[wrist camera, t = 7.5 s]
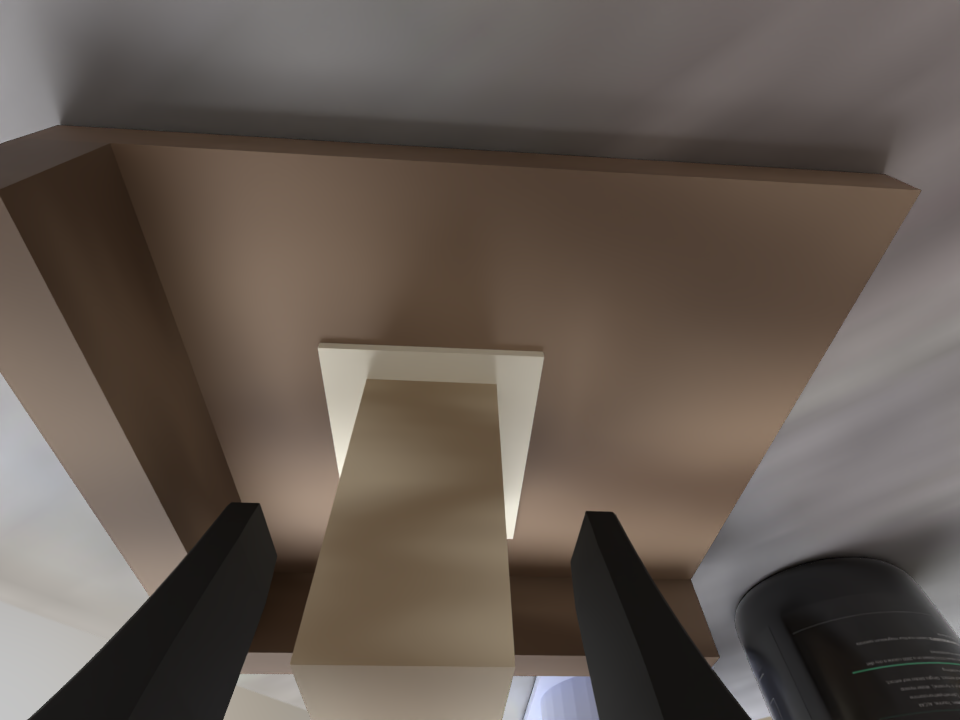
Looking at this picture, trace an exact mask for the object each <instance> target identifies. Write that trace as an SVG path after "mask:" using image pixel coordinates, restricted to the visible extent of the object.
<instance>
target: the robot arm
mask: <svg viewBox="0 0 960 720" xmlns="http://www.w3.org/2000/svg"><path fill="white" fill-rule="evenodd" d="M276 560H277V553H276V550H275V547H274V544H273V541H272V538H271V535H270V532H269V529H268V526H267V523H266V520H265V517H264V514H263V511H262V508H261V505H260V503H241V502H231V503H230V504H229V505H227V507H226V508H225V509H224V510H223V511H222V513H221V514H220V515H219V516H218V518H217V519H216V520H215V521H214V522H213V524H212V525H211V526H210V527H209V529H208V530H207V531H206V532H205V533H204V535H203V536H202V537H201V538H200V540H199V541H198V542H197V543H196V544H195V546H194V547H193V548H192V549H191V550H190V551H189V553H188V554H187V555H186V556H185V557H184V559H183V560H182V561H181V562H180V563H179V564H178V566H177V567H176V568H175V569H174V570H173V571H172V572H171V574H170V575H169V576H168V577H167V578H166V579H165V580H164V582H163V583H162V584H161V585H160V586H159V587H158V588H157V589H156V591H155V592H154V593H153V594H152V595H151V596H150V597H149V599H148V600H147V601H146V602H145V603H144V604H143V605H142V606H141V607H140V608H139V610H138V611H137V612H136V613H135V614H134V615H133V616H132V617H131V618H130V619H129V620H128V621H127V622H126V623H125V624H124V625H123V626H122V628H121V629H120V630H119V631H118V632H117V633H116V634H115V635H114V636H113V637H112V638H111V639H110V640H109V641H108V642H107V643H106V644H105V646H104V647H103V648H102V649H101V650H100V651H99V652H98V653H97V654H96V655H95V656H94V657H93V658H92V659H91V660H90V661H89V662H88V663H87V664H86V665H85V666H84V667H83V668H82V669H81V670H80V671H79V672H78V673H77V674H76V675H75V676H74V677H73V678H72V679H70V680H69V681H68V682H67V683H66V684H65V685H64V686H63V687H62V688H61V689H60V690H59V691H58V692H57V693H56V694H55V695H54V696H53V697H52V698H51V699H49V701H47V702H46V703H45V704H44V705H43V706H42V707H41V708H40V709H39V710H38V711H37V712H36V713H34V714H33V715H32V716H31V717H30V718H29V719H28V720H223V719H224V716H225V713H226V710H227V707H228V705H229V702H230V699H231V697H232V694H233V691H234V689H235V686H236V683H237V681H238V678H239V675H240V672H241V670H242V667H243V664H244V662H245V659H246V656H247V654H248V651H249V648H250V645H251V643H252V640H253V637H254V635H255V632H256V629H257V626H258V624H259V621H260V618H261V615H262V612H263V610H264V607H265V604H266V600H267V596H268V592H269V589H270V585H271V581H272V577H273V572H274V568H275V564H276ZM570 563H571V573H572V583H573V592H574V600H575V609H576V614H577V619H578V623H579V628H580V633H581V637H582V642H583V647H584V652H585V656H586V661H587V665H588V670H589V675H590V677H587V676H537V677H536V681H535V684H534V687H533V690H532V694H531V697H530V700H529V703H528V706H527V710H526V713H525V716H524V719H523V720H752V719H751V718H750V717H749V716H748V715H747V713H746V712H745V711H744V709H743V708H742V707H741V706H740V704H739V703H738V702H737V700H736V699H735V698H734V697H733V695H732V694H731V693H730V692H729V690H728V689H727V688H726V686H725V685H724V684H723V682H722V681H721V680H720V678H719V677H718V676H717V674H716V673H715V672H714V666H712V667H711V666H710V665H709V663H708V662H707V661H706V659H705V658H704V656H703V655H702V653H701V652H700V651H699V649H698V648H697V646H696V645H695V644H694V642H693V641H692V639H691V638H690V636H689V635H688V633H687V632H686V630H685V629H684V627H683V626H682V625H681V623H680V622H679V620H678V619H677V617H676V615H675V614H674V612H673V611H672V609H671V608H670V606H669V605H668V603H667V601H666V600H665V598H664V597H663V595H662V594H661V592H660V590H659V589H658V587H657V586H656V584H655V582H654V581H653V579H652V578H651V576H650V574H649V573H648V571H647V569H646V567H645V566H644V564H643V562H642V561H641V559H640V557H639V556H638V554H637V552H636V550H635V549H634V547H633V545H632V543H631V542H630V540H629V538H628V536H627V534H626V532H625V531H624V529H623V527H622V525H621V523H620V521H619V519H618V518H617V516H616V514H615V513H614V512H609V511H586V512H585V516H584V519H583V522H582V525H581V529H580V532H579V535H578V538H577V542H576V545H575V548H574V551H573V555H572V558H571V561H570Z"/></svg>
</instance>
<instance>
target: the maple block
mask: <svg viewBox="0 0 960 720" xmlns="http://www.w3.org/2000/svg"><path fill="white" fill-rule="evenodd" d="M290 667H291V669H292V672H293V675H294V677H295V680H296V682H297V685H298V687H299V690H300V693H301V695H302V698H303V700H304V703H305V706H306V708H307V711H308V713H309V716H310V718H311V720H502V718H503V714H504V710H505V706H506V702H507V698H508V694H509V690H510V686H511V682H512V678H513V674H514V670H515V655H514V640H513V624H512V609H511V594H510V579H509V564H508V549H507V534H506V519H505V504H504V488H503V473H502V458H501V443H500V428H499V413H498V398H497V384H481V383H457V382H432V381H407V380H383V379H366V383H365V387H364V390H363V394H362V398H361V402H360V405H359V409H358V413H357V416H356V420H355V424H354V428H353V431H352V435H351V439H350V442H349V446H348V450H347V454H346V457H345V461H344V465H343V468H342V472H341V476H340V480H339V483H338V487H337V491H336V494H335V498H334V502H333V506H332V509H331V513H330V517H329V520H328V524H327V528H326V532H325V535H324V539H323V543H322V546H321V550H320V554H319V558H318V561H317V565H316V569H315V573H314V576H313V580H312V584H311V587H310V591H309V595H308V599H307V602H306V606H305V610H304V613H303V617H302V621H301V625H300V628H299V632H298V636H297V639H296V643H295V647H294V651H293V654H292V658H291V662H290Z"/></svg>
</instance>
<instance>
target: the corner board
mask: <svg viewBox="0 0 960 720" xmlns="http://www.w3.org/2000/svg"><path fill="white" fill-rule="evenodd" d="M920 192H921V190H920V189H917V188H915V187H913V186H910V185H908V184H906V183H904V182H901V181H899V180H897V179H895V178H892V177H890V176H888V175H885V174H871V173H854V172H838V171H821V170H804V169H787V168H771V167H754V166H737V165H720V164H703V163H687V162H670V161H653V160H636V159H619V158H603V157H586V156H569V155H552V154H536V153H519V152H502V151H485V150H468V149H452V148H435V147H418V146H401V145H385V144H368V143H351V142H334V141H317V140H301V139H284V138H267V137H250V136H233V135H217V134H200V133H183V132H166V131H150V130H133V129H116V128H99V127H82V126H66V125H57V126H54V127H50V128H47V129H44V130H41V131H38V132H35V133H32V134H29V135H26V136H23V137H19V138H16V139H13V140H10V141H7V142H4V143H1V144H0V372H1V374H2V375H3V377H4V378H5V380H6V381H7V383H8V384H9V386H10V387H11V389H12V390H13V392H14V393H15V395H16V396H17V398H18V399H19V401H20V402H21V404H22V405H23V407H24V409H25V410H26V412H27V413H28V415H29V416H30V418H31V419H32V421H33V422H34V424H35V425H36V427H37V428H38V430H39V431H40V433H41V434H42V436H43V437H44V439H45V440H46V442H47V443H48V445H49V446H50V448H51V449H52V451H53V452H54V454H55V455H56V457H57V458H58V460H59V461H60V463H61V464H62V466H63V467H64V469H65V470H66V472H67V473H68V475H69V476H70V478H71V479H72V481H73V482H74V484H75V485H76V487H77V488H78V490H79V491H80V493H81V494H82V496H83V497H84V499H85V500H86V502H87V503H88V505H89V506H90V508H91V509H92V511H93V512H94V514H95V515H96V517H97V518H98V520H99V521H100V523H101V524H102V526H103V527H104V529H105V530H106V532H107V533H108V535H109V536H110V538H111V539H112V541H113V542H114V544H115V545H116V547H117V548H118V550H119V551H120V553H121V554H122V556H123V557H124V559H125V560H126V562H127V563H128V565H129V566H130V568H131V569H132V571H133V572H134V574H135V575H136V577H137V578H138V580H139V581H140V583H141V584H142V586H143V587H144V589H145V590H146V592H147V593H148V595H149V596H151V595H152V594H153V593H154V592H155V591H156V589H157V588H158V587H159V586H160V585H161V584H162V583H163V582H164V580H165V579H166V578H167V577H168V576H169V575H170V574H171V572H172V571H173V570H174V569H175V568H176V567H177V566H178V564H179V563H180V562H181V561H182V560H183V559H184V557H185V556H186V555H187V554H188V553H189V551H190V550H191V549H192V548H193V547H194V546H195V544H196V543H197V542H198V541H199V540H200V538H201V537H202V536H203V535H204V533H205V532H206V531H207V530H208V529H209V527H210V526H211V525H212V524H213V522H214V521H215V520H216V519H217V518H218V516H219V515H220V514H221V513H222V511H223V510H224V509H225V508H226V507H227V505H229V504H230V503H231V502H241V503H260V505H261V508H262V511H263V514H264V517H265V520H266V523H267V526H268V529H269V532H270V535H271V538H272V541H273V544H274V547H275V550H276V553H277V560H276V564H275V568H274V572H273V577H272V581H271V585H270V589H269V592H268V596H267V600H266V604H265V607H264V610H263V612H262V615H261V618H260V621H259V624H258V626H257V629H256V632H255V635H254V637H253V640H252V643H251V645H250V648H249V651H248V654H247V656H246V659H245V662H244V664H243V667H242V670H241V672H240V674H293V672H292V669H291V667H290V662H291V658H292V654H293V651H294V647H295V643H296V639H297V636H298V632H299V628H300V625H301V621H302V617H303V613H304V610H305V606H306V602H307V599H308V595H309V591H310V587H311V584H312V580H313V576H314V573H315V569H316V565H317V561H318V558H319V554H320V550H321V546H322V543H323V539H324V535H325V532H326V528H327V524H328V520H329V517H330V513H331V509H332V506H333V502H334V498H335V494H336V491H337V487H338V483H339V480H340V476H341V472H342V468H343V465H344V461H345V457H346V454H347V450H348V446H349V442H350V439H351V435H352V431H353V428H354V424H355V420H356V416H357V413H358V409H359V405H360V402H361V398H362V394H363V390H364V387H365V383H366V379H383V380H407V381H432V382H457V383H481V384H497V398H498V413H499V428H500V443H501V458H502V473H503V488H504V504H505V519H506V534H507V549H508V564H509V579H510V594H511V609H512V624H513V640H514V655H515V670H514V674H513V676H587V677H590V675H589V670H588V665H587V661H586V656H585V652H584V647H583V642H582V637H581V633H580V628H579V623H578V619H577V614H576V609H575V600H574V592H573V583H572V573H571V563H570V561H571V558H572V555H573V551H574V548H575V545H576V542H577V538H578V535H579V532H580V529H581V525H582V522H583V519H584V516H585V512H586V511H609V512H614V513H615V514H616V516H617V518H618V519H619V521H620V523H621V525H622V527H623V529H624V531H625V532H626V534H627V536H628V538H629V540H630V542H631V543H632V545H633V547H634V549H635V550H636V552H637V554H638V556H639V557H640V559H641V561H642V562H643V564H644V566H645V567H646V569H647V571H648V573H649V574H650V576H651V578H652V579H653V581H654V582H655V584H656V586H657V587H658V589H659V590H660V592H661V594H662V595H663V597H664V598H665V600H666V601H667V603H668V605H669V606H670V608H671V609H672V611H673V612H674V614H675V615H676V617H677V619H678V620H679V622H680V623H681V625H682V626H683V627H684V629H685V630H686V632H687V633H688V635H689V636H690V638H691V639H692V641H693V642H694V644H695V645H696V646H697V648H698V649H699V651H700V652H701V653H702V655H703V656H704V658H705V659H706V661H707V662H708V663H709V665H710V666H711V667H712V666H713V665H714V664H715V663H716V661H717V660H718V659H719V658H720V656H719V654H718V651H717V648H716V646H715V643H714V640H713V638H712V635H711V632H710V630H709V627H708V624H707V622H706V619H705V616H704V614H703V611H702V608H701V606H700V603H699V600H698V598H697V595H696V592H695V590H694V587H693V584H692V582H691V578H692V577H693V575H694V573H695V572H696V570H697V568H698V567H699V565H700V563H701V561H702V560H703V558H704V556H705V555H706V553H707V551H708V550H709V548H710V546H711V545H712V543H713V541H714V540H715V538H716V536H717V534H718V533H719V531H720V529H721V528H722V526H723V524H724V523H725V521H726V519H727V518H728V516H729V514H730V513H731V511H732V509H733V508H734V506H735V504H736V502H737V501H738V499H739V497H740V496H741V494H742V492H743V491H744V489H745V487H746V486H747V484H748V482H749V481H750V479H751V477H752V475H753V474H754V472H755V470H756V469H757V467H758V465H759V464H760V462H761V460H762V459H763V457H764V455H765V454H766V452H767V450H768V448H769V447H770V445H771V443H772V442H773V440H774V438H775V437H776V435H777V433H778V432H779V430H780V428H781V427H782V425H783V423H784V421H785V420H786V418H787V416H788V415H789V413H790V411H791V410H792V408H793V406H794V405H795V403H796V401H797V400H798V398H799V396H800V395H801V393H802V391H803V389H804V388H805V386H806V384H807V383H808V381H809V379H810V378H811V376H812V374H813V373H814V371H815V369H816V368H817V366H818V364H819V362H820V361H821V359H822V357H823V356H824V354H825V352H826V351H827V349H828V347H829V346H830V344H831V342H832V341H833V339H834V337H835V335H836V334H837V332H838V330H839V329H840V327H841V325H842V324H843V322H844V320H845V319H846V317H847V315H848V314H849V312H850V310H851V309H852V307H853V305H854V303H855V302H856V300H857V298H858V297H859V295H860V293H861V292H862V290H863V288H864V287H865V285H866V283H867V282H868V280H869V278H870V276H871V275H872V273H873V271H874V270H875V268H876V266H877V265H878V263H879V261H880V260H881V258H882V256H883V255H884V253H885V251H886V249H887V248H888V246H889V244H890V243H891V241H892V239H893V238H894V236H895V234H896V233H897V231H898V229H899V228H900V226H901V224H902V222H903V221H904V219H905V217H906V216H907V214H908V212H909V211H910V209H911V207H912V206H913V204H914V202H915V201H916V199H917V197H918V196H919V194H920Z"/></svg>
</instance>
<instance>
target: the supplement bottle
mask: <svg viewBox="0 0 960 720" xmlns="http://www.w3.org/2000/svg"><path fill="white" fill-rule="evenodd" d="M735 628H736V631H737V634H738V637H739V639H740V642H741V644H742V647H743V649H744V652H745V654H746V657H747V659H748V662H749V664H750V667H751V669H752V672H753V674H754V676H755V679H756V681H757V684H758V686H759V688H760V691H761V693H762V696H763V698H764V700H765V703H766V705H767V708H768V710H769V713H770V715H771V717H772V720H960V638H959V637H958V636H957V634H956V633H955V632H954V630H953V629H952V628H951V626H950V625H949V624H948V622H947V621H946V620H945V618H944V617H943V616H942V614H941V613H940V612H939V611H938V609H937V608H936V607H935V605H934V604H933V603H932V602H931V600H930V599H929V598H928V596H927V595H926V594H925V593H924V591H923V590H922V589H921V587H920V586H919V585H918V584H917V583H916V581H915V580H914V579H913V578H912V577H911V576H910V575H909V574H907V573H906V572H905V571H903V570H902V569H900V568H898V567H896V566H894V565H892V564H889V563H887V562H884V561H880V560H876V559H871V558H861V557H844V558H832V559H825V560H820V561H815V562H810V563H806V564H803V565H799V566H796V567H793V568H790V569H788V570H785V571H782V572H780V573H778V574H776V575H774V576H772V577H770V578H768V579H766V580H764V581H763V582H761V583H759V584H758V585H756V586H755V587H754V588H753V589H751V590H750V591H749V592H748V593H747V594H746V595H745V596H744V597H743V598H742V600H741V601H740V603H739V605H738V607H737V610H736V613H735Z"/></svg>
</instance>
